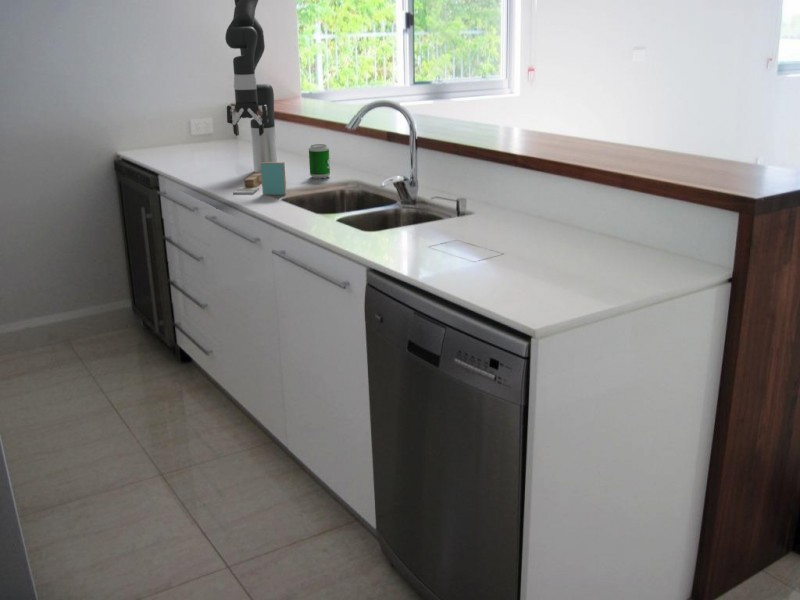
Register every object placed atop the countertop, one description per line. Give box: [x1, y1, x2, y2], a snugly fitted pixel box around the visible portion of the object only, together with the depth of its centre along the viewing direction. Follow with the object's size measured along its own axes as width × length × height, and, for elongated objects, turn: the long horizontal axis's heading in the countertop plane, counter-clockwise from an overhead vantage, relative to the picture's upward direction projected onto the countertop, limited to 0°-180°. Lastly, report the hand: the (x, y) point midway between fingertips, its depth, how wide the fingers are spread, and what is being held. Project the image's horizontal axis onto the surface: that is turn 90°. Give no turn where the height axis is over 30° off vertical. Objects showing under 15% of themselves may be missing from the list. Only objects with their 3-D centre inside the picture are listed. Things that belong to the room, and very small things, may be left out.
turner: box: [232, 172, 262, 195], centre depth 281 cm, size 22×7×4 cm, turn 175°
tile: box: [261, 161, 287, 196], centre depth 269 cm, size 2×8×11 cm, turn 85°
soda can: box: [308, 143, 331, 179], centre depth 297 cm, size 8×8×12 cm
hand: (249, 135), depth 278 cm, fingers open, 8 cm apart
